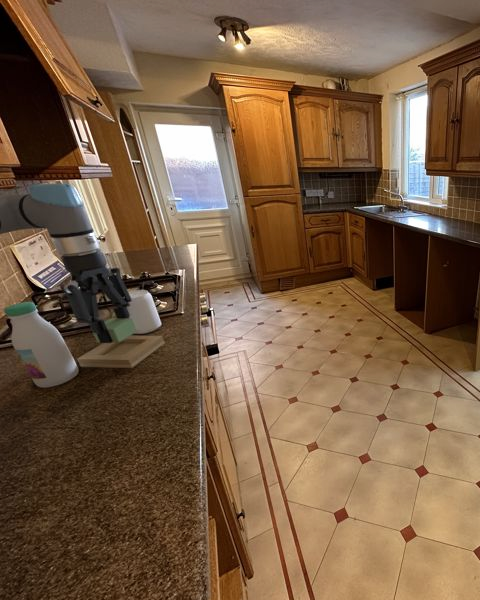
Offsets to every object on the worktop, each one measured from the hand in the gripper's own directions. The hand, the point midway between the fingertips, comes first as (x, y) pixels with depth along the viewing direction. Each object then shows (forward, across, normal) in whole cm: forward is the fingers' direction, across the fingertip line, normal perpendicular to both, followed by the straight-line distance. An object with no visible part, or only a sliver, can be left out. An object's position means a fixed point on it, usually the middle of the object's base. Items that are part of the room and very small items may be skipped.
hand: (117, 335), depth 86 cm
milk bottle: (+6, -11, +8) cm, 15 cm away
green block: (0, 0, 0) cm, 0 cm away
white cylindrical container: (+6, +14, +5) cm, 16 cm away
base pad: (+6, 0, 0) cm, 6 cm away
